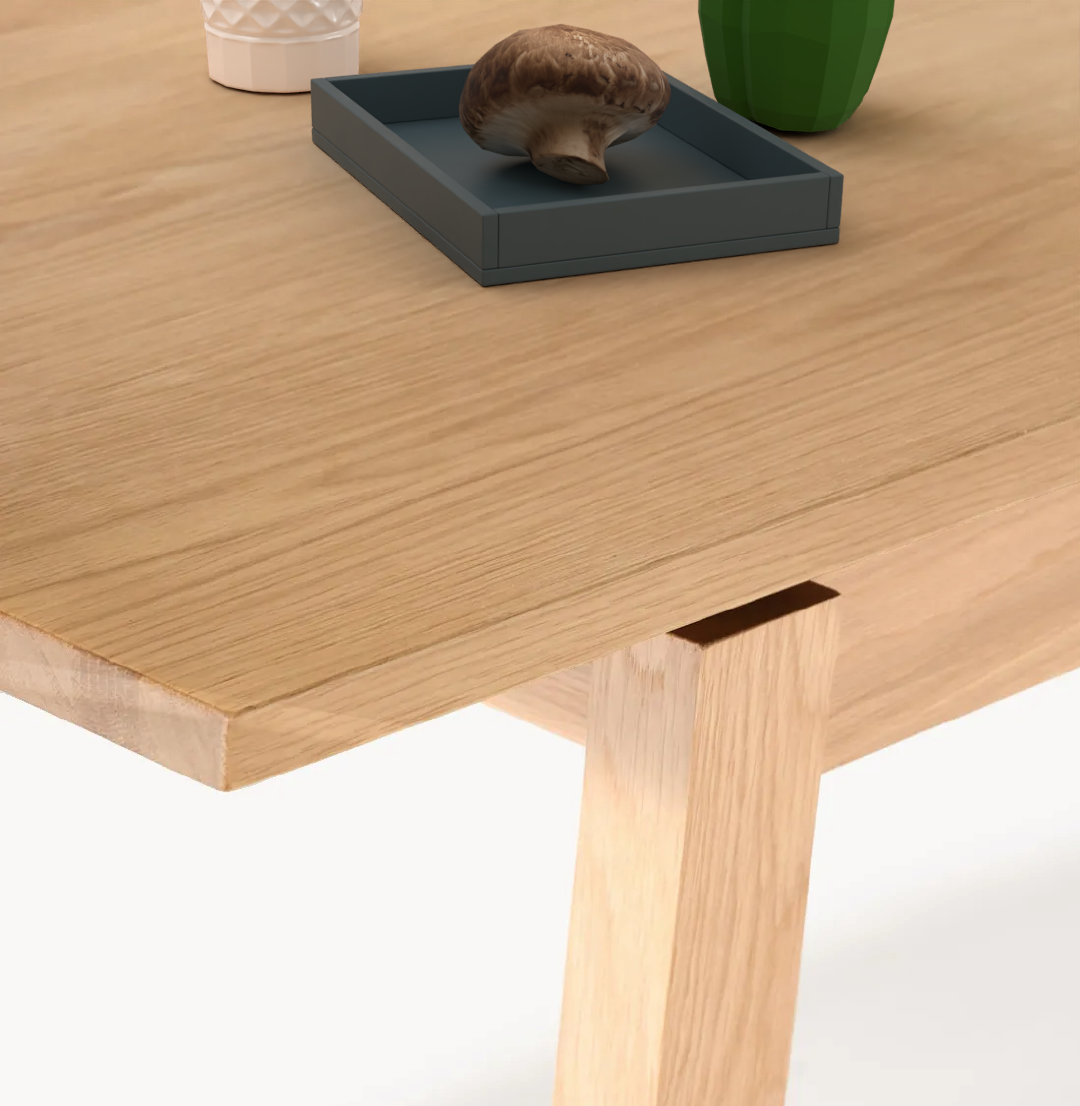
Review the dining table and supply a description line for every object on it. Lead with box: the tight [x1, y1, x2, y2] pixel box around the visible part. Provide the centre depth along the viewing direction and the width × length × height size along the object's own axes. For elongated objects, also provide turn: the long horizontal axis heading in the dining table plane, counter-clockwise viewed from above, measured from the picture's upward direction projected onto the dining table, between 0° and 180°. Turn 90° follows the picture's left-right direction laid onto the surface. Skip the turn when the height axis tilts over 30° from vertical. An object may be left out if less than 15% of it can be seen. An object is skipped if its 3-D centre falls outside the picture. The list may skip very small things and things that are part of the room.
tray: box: [310, 63, 845, 287], centre depth 98 cm, size 14×19×3 cm
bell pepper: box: [697, 0, 896, 133], centre depth 106 cm, size 8×8×10 cm
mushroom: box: [459, 23, 671, 185], centre depth 97 cm, size 8×8×6 cm
